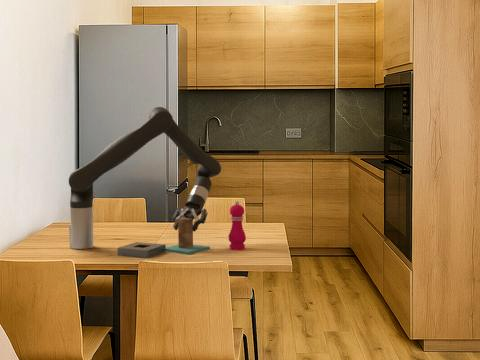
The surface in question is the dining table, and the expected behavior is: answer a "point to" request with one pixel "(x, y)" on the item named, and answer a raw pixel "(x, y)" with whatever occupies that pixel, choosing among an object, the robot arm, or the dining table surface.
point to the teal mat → (187, 251)
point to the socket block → (141, 249)
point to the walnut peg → (185, 233)
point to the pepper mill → (237, 228)
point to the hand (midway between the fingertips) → (184, 229)
